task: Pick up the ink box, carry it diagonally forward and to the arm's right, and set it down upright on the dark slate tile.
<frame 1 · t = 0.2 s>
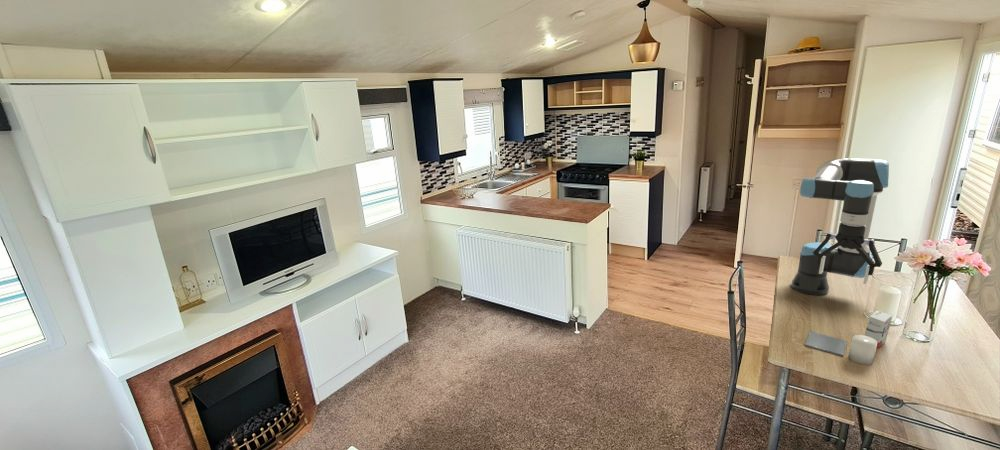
hand: (842, 277, 165), 27 cm above the table, fingers open, 13 cm apart
slate tile: (825, 344, 171), on the table
ink box: (874, 343, 171), on the table
white rounded cylinder: (860, 358, 161), on the table
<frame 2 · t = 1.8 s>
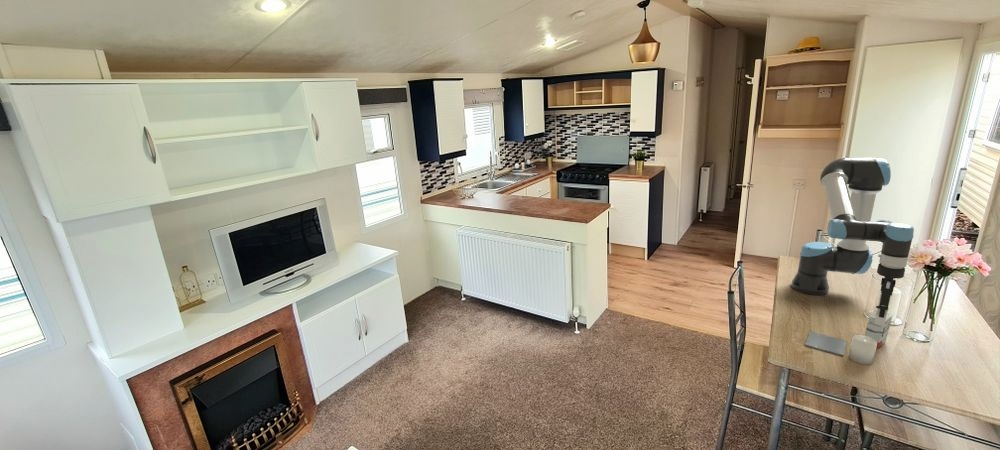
hand: (880, 317, 167), 11 cm above the table, fingers open, 13 cm apart
nothing on the table moved.
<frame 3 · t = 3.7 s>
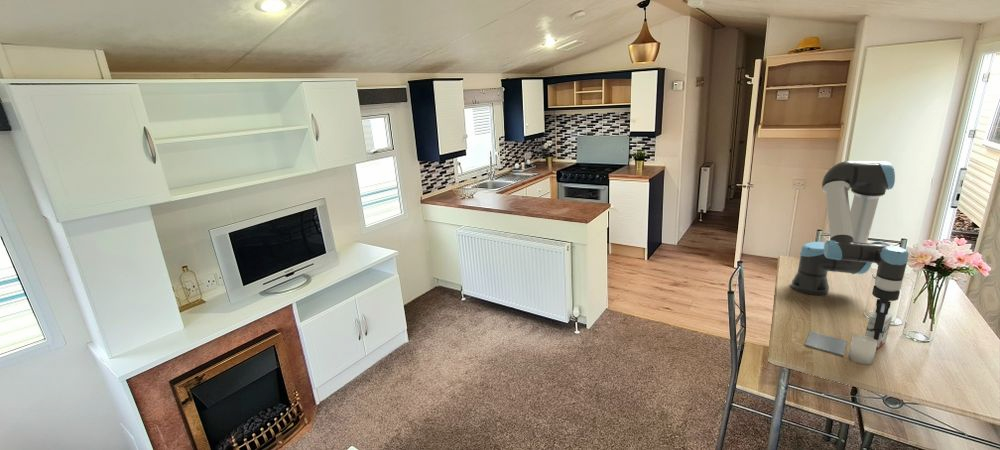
hand: (875, 340, 170), 1 cm above the table, fingers closed on ink box, 9 cm apart
ink box: (874, 343, 171), on the table, touching gripper
everything else where it was.
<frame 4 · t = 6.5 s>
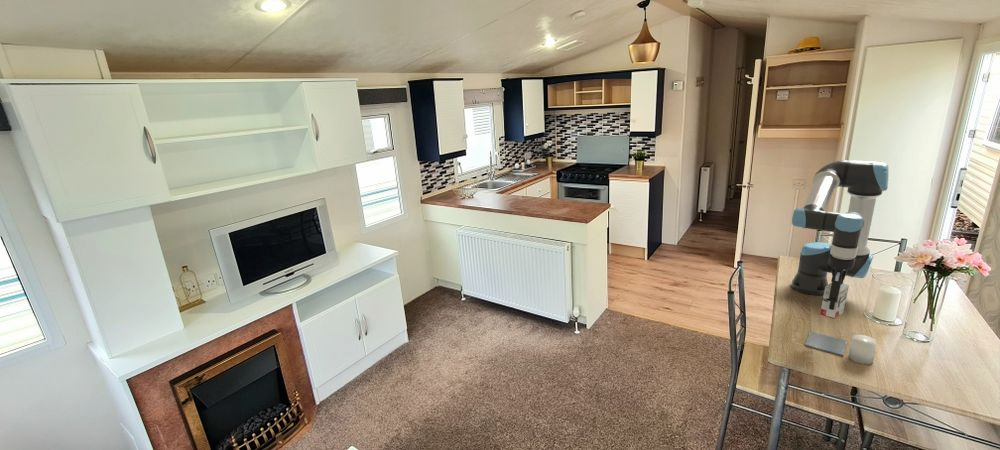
hand: (832, 311, 167), 14 cm above the table, fingers closed on ink box, 9 cm apart
ink box: (831, 314, 168), point 13 cm above the table, touching gripper
everything else where it was.
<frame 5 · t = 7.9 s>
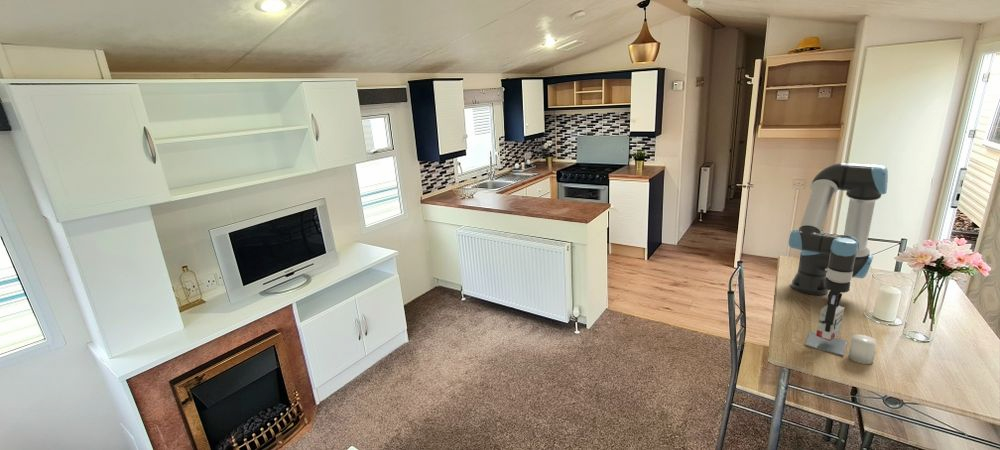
hand: (827, 332, 170), 5 cm above the table, fingers closed on ink box, 9 cm apart
ink box: (827, 335, 170), point 4 cm above the table, touching gripper
everything else where it was.
when the fingers open (3 cm above the table, at t = 9.4 s): ink box stays where it is, resting on slate tile.
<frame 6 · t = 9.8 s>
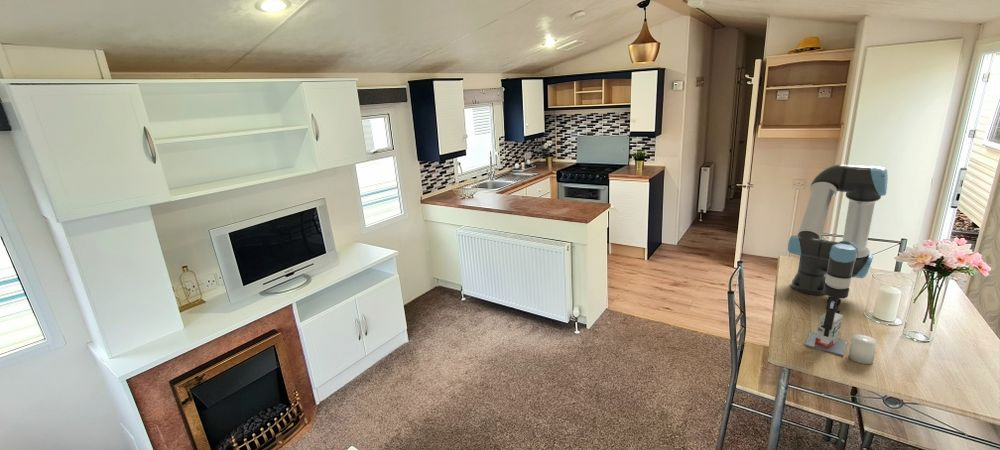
hand: (827, 335, 170), 4 cm above the table, fingers open, 13 cm apart
ink box: (826, 342, 171), resting on slate tile
everything else where it was.
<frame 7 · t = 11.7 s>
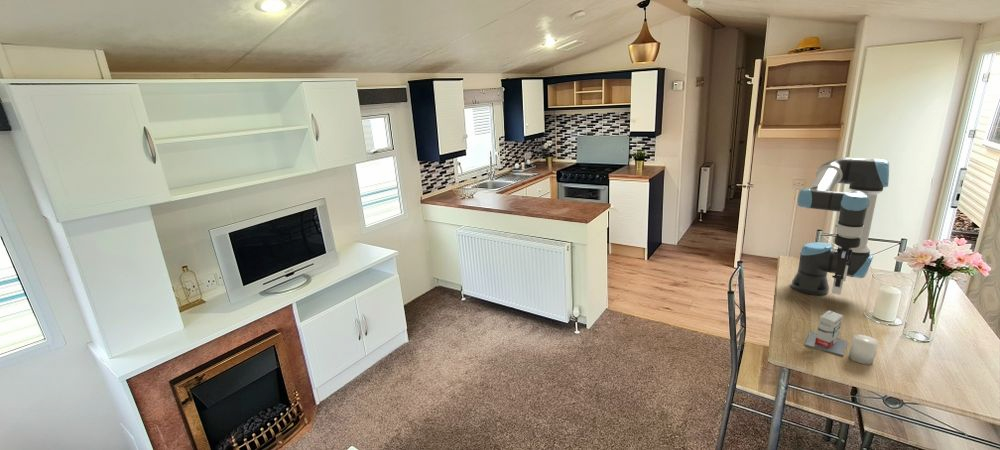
hand: (838, 286, 169), 22 cm above the table, fingers open, 13 cm apart
nothing on the table moved.
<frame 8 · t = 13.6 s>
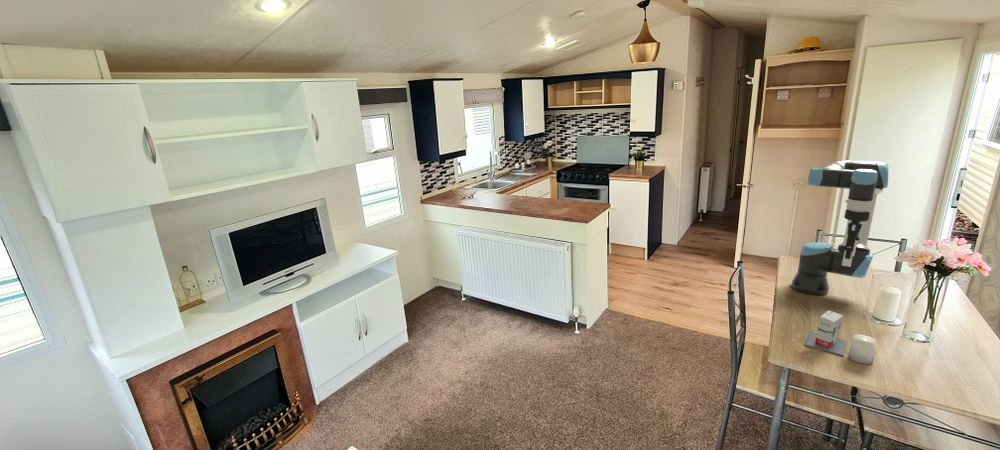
hand: (848, 260, 176), 29 cm above the table, fingers open, 13 cm apart
nothing on the table moved.
at the end: ink box inside the target area on the slate tile (0.2 cm from its centre), point 0.4 cm above the slate tile's base; ink box tilted 0°; the gripper is holding nothing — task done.
